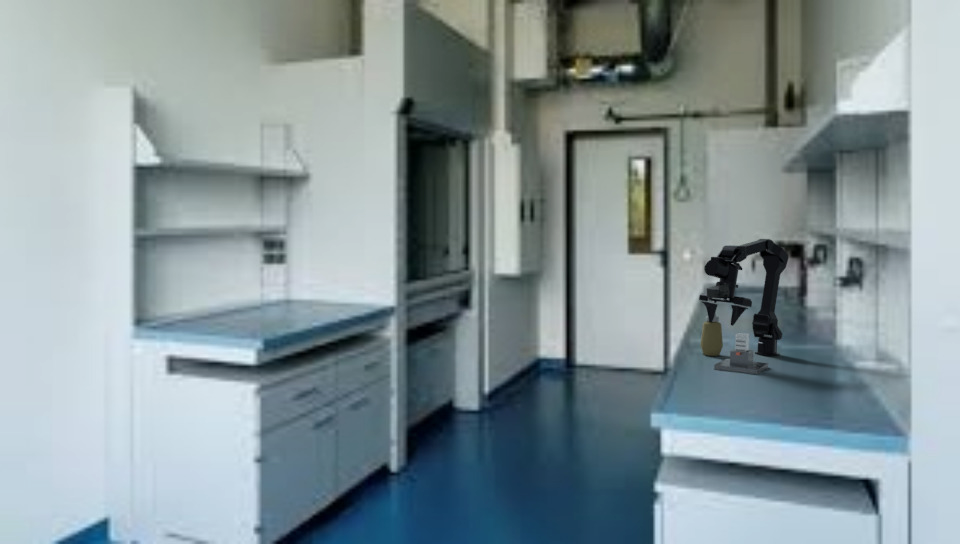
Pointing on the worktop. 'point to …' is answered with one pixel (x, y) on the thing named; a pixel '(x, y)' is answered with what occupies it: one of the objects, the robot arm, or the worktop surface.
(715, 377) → the worktop surface
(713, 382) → the worktop surface
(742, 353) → the stand
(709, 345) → the squeeze bottle
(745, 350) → the block
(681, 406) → the worktop surface
